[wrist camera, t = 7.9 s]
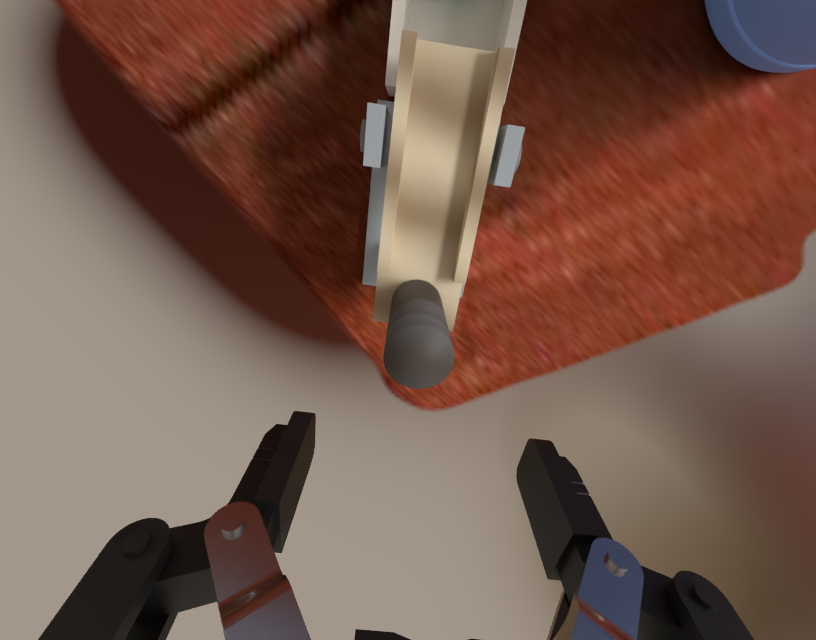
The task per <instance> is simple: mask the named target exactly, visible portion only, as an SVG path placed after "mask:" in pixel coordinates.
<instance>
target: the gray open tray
mask: <svg viewBox="0 0 816 640" xmlns="http://www.w3.org/2000/svg"><path fill="white" fill-rule="evenodd" d="M526 4H527V0H393V1H392V12H391V24H390V35H389V46H388V57H387V68H386V79H385V86H386V89H387V92H388V94H389V96H392V97H395V92H396V82H397V72H398V63H399V53H400V43H401V34H402V30H407V31H413V32H417V39H419V40H425V41H431V42H437V43H443V44H449V45H455V46H461V47H467V48H473V49H479V50H485V51H491V52H497V50H498V49H499V47H500V46H502V47H508V48H514V49H515V52H514V57H513V62H512V66H511V71H510V76H509V81H508V85H507V90H506V95H507V91H508V86H509V82H510V77H511V72H512V68H513V63H514V59H515V54H516V50H517V45H518V41H519V36H520V31H521V27H522V22H523V18H524V13H525V9H526ZM506 95H505V100H506ZM505 100H504V104H505ZM504 104H503V105H504Z"/></svg>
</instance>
